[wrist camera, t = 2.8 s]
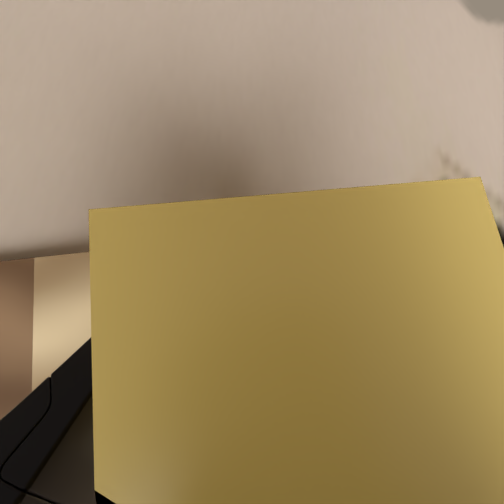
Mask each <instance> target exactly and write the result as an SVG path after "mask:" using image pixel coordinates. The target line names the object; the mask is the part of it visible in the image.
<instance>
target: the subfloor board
mask: <svg viewBox="0 0 504 504" xmlns="http://www.w3.org/2000/svg"><path fill="white" fill-rule="evenodd" d="M90 338H91V299H90V252H83V253H73V254H64V255H55V256H45V257H36V258H27V259H17V260H8V261H0V420H1V419H2V418H3V417H4V416H5V415H6V414H8V413H9V412H10V411H11V410H12V409H13V408H14V407H15V406H17V405H18V404H19V403H20V402H21V401H22V400H23V399H24V398H26V397H27V396H28V395H29V394H30V393H31V392H32V391H33V390H34V389H35V388H37V387H38V386H39V385H40V384H41V383H42V382H43V381H44V380H45V379H46V378H47V377H51V374H52V373H53V372H54V371H55V370H56V369H57V368H58V367H59V366H60V365H62V364H63V363H64V362H65V361H66V360H67V359H68V358H69V357H70V356H71V355H72V354H73V353H74V352H76V351H77V350H78V349H79V348H80V347H81V346H82V345H83V344H84V343H85V342H86V341H87V340H88V339H90Z"/></svg>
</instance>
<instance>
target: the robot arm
mask: <svg viewBox="0 0 504 504" xmlns="http://www.w3.org/2000/svg"><path fill="white" fill-rule="evenodd" d="M0 504H96V498H95V490H94V442H93V395H92V347H91V338H90V339H88V340H87V341H86V342H85V343H84V344H83V345H82V346H81V347H80V348H79V349H78V350H77V351H76V352H74V353H73V354H72V355H71V356H70V357H69V358H68V359H67V360H66V361H65V362H64V363H63V364H62V365H60V366H59V367H58V368H57V369H56V370H55V371H54V372H53V373H52V374H51V377H47V378H46V379H45V380H44V381H43V382H42V383H41V384H40V385H39V386H38V387H37V388H35V389H34V390H33V391H32V392H31V393H30V394H29V395H28V396H27V397H26V398H24V399H23V400H22V401H21V402H20V403H19V404H18V405H17V406H15V407H14V408H13V409H12V410H11V411H10V412H9V413H8V414H6V415H5V416H4V417H3V418H2V419H1V420H0Z"/></svg>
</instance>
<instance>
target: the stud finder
mask: <svg viewBox="0 0 504 504" xmlns="http://www.w3.org/2000/svg"><path fill="white" fill-rule="evenodd" d="M89 252H90V299H91V347H92V395H93V442H94V490H95V498H96V504H504V248H503V245H502V242H501V238H500V235H499V232H498V229H497V226H496V223H495V220H494V217H493V214H492V211H491V208H490V205H489V202H488V199H487V196H486V193H485V190H484V186H483V183H482V180H481V177H473V178H461V179H449V180H437V181H425V182H413V183H401V184H389V185H377V186H365V187H353V188H341V189H329V190H317V191H304V192H292V193H280V194H268V195H256V196H244V197H232V198H220V199H208V200H196V201H184V202H172V203H160V204H148V205H136V206H124V207H112V208H100V209H89Z"/></svg>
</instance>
